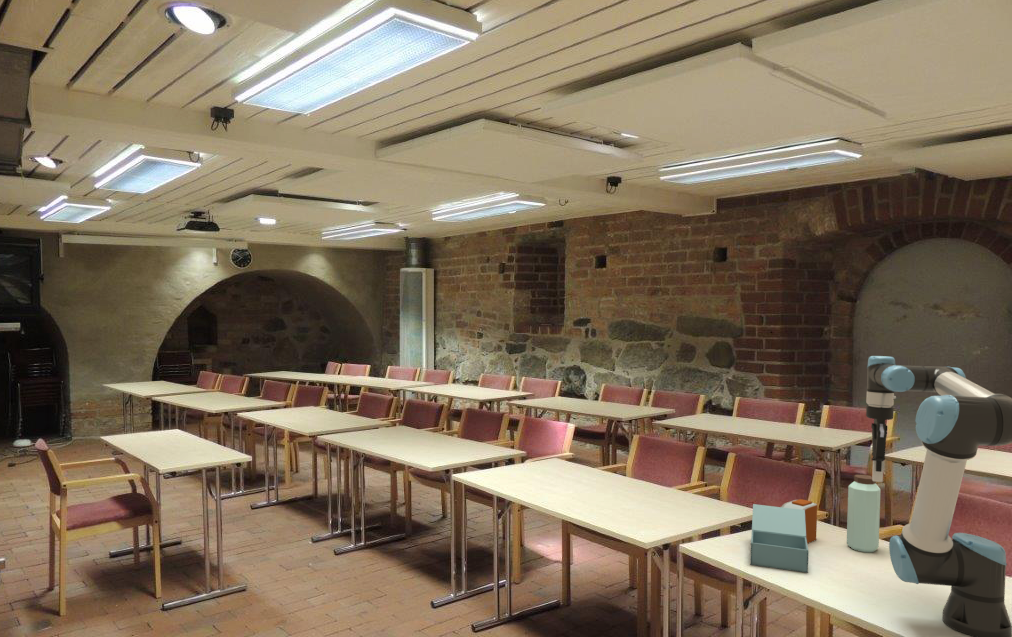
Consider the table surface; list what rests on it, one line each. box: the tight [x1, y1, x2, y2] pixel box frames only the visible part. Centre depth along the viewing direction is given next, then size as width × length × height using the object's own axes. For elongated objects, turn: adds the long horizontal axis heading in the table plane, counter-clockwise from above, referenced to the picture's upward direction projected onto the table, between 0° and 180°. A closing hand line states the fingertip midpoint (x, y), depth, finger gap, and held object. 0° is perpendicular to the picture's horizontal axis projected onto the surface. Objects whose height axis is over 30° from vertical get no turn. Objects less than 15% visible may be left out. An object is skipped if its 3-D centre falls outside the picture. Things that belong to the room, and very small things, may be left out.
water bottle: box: [846, 474, 881, 553], centre depth 243 cm, size 10×10×25 cm
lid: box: [751, 503, 806, 537], centre depth 241 cm, size 14×17×1 cm
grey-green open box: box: [750, 529, 809, 573], centre depth 228 cm, size 14×17×7 cm
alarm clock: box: [780, 498, 818, 544], centre depth 250 cm, size 15×8×14 cm, turn 130°
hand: (877, 481), depth 218 cm, fingers closed
